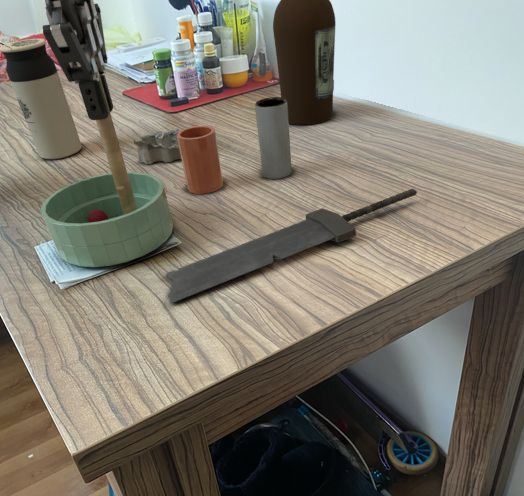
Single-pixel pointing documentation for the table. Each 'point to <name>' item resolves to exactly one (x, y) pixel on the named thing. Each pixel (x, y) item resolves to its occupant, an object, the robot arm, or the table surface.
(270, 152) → the grey tube
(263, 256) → the toy broadsword
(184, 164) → the utensil pot
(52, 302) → the table surface
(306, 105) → the olive oil
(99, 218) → the bead
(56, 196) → the bowl
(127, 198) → the wooden stick
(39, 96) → the travel mug
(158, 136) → the egg carton
